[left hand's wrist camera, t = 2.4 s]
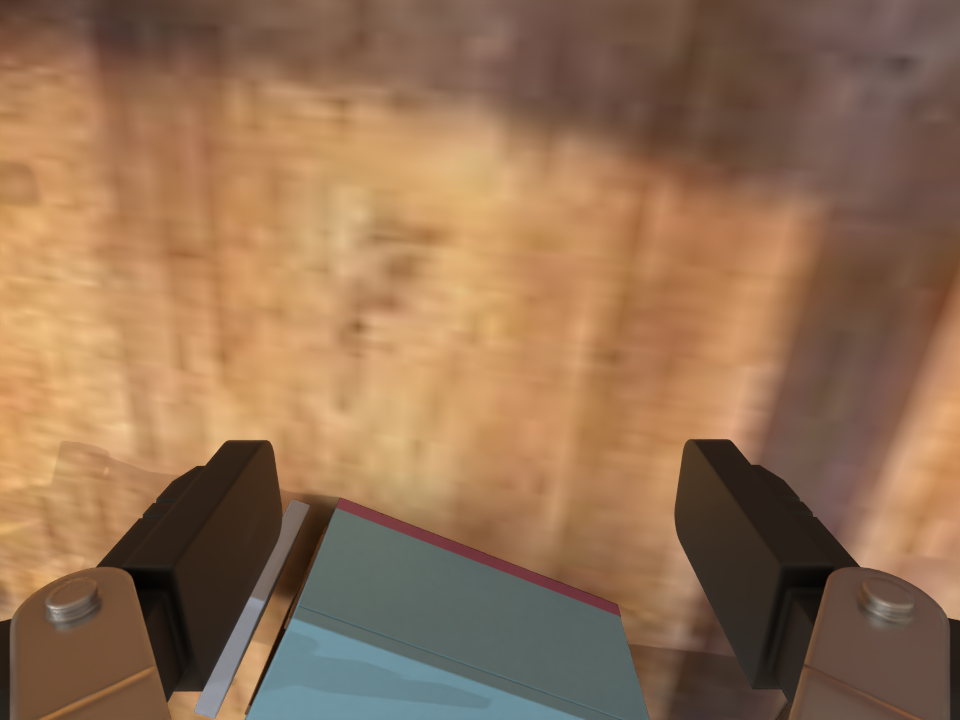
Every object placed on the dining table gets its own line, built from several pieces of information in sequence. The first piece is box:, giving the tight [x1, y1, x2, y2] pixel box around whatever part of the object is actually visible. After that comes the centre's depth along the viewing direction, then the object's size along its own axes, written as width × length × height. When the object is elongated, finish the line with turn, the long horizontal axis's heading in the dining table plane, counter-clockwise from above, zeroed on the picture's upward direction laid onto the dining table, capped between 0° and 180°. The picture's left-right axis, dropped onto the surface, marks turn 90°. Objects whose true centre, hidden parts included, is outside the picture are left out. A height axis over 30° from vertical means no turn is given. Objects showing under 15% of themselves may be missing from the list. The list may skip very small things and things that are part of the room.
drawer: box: [194, 499, 328, 719], centre depth 34 cm, size 25×9×8 cm, turn 65°
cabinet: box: [244, 498, 650, 720], centre depth 35 cm, size 20×10×10 cm, turn 65°
